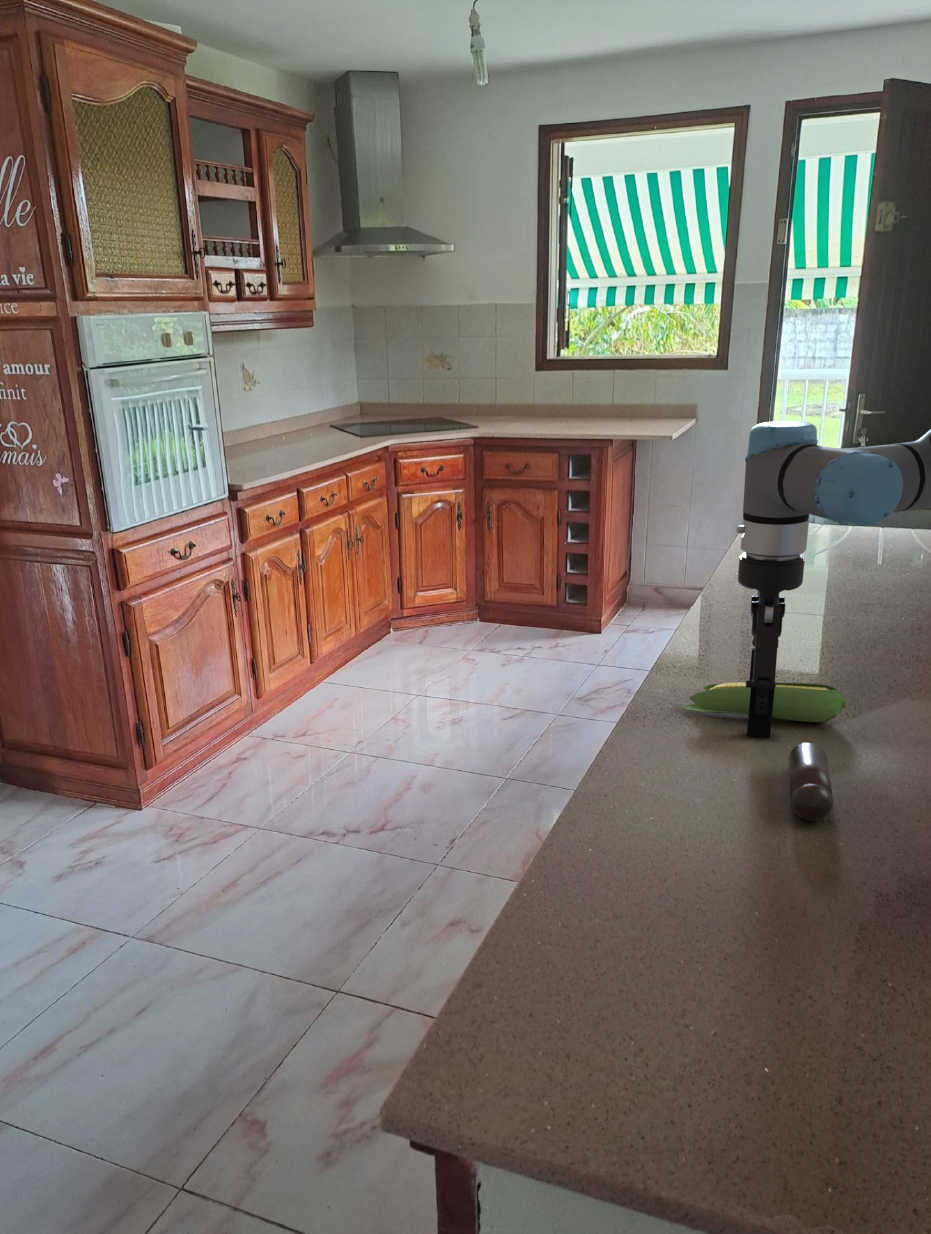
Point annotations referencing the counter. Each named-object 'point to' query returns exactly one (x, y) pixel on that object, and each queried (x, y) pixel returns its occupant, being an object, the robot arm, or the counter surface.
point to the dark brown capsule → (810, 782)
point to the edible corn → (787, 704)
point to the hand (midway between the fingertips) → (758, 714)
